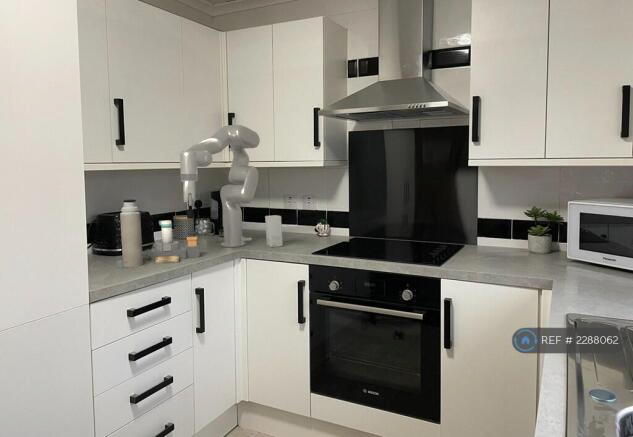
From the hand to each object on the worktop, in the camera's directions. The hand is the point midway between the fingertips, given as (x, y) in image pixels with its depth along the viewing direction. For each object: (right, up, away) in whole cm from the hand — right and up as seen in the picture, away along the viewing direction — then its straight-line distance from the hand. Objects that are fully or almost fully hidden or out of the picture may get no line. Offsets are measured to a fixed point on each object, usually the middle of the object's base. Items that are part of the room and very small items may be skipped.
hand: (190, 218), depth 232 cm
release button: (0, -15, +2) cm, 15 cm away
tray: (-8, -19, -9) cm, 23 cm away
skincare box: (+36, -14, +28) cm, 48 cm away
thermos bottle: (-21, -20, -16) cm, 33 cm away
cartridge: (-10, -14, -1) cm, 18 cm away
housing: (-6, -18, 0) cm, 19 cm away
